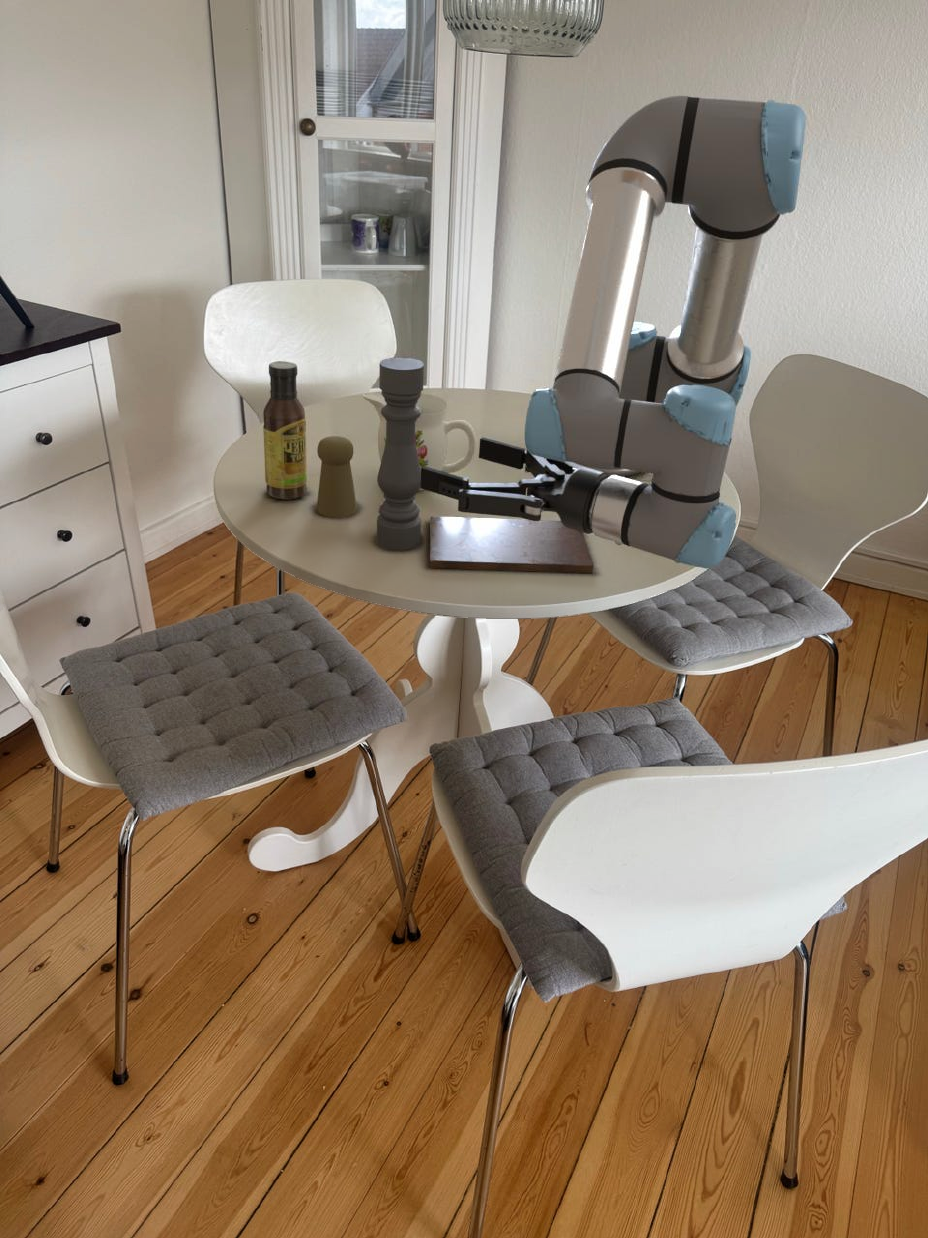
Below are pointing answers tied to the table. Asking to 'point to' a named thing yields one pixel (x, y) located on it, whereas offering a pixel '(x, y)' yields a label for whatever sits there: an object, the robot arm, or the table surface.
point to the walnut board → (507, 545)
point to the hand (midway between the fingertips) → (452, 461)
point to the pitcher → (429, 433)
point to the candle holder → (400, 454)
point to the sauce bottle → (284, 435)
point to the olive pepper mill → (336, 478)
